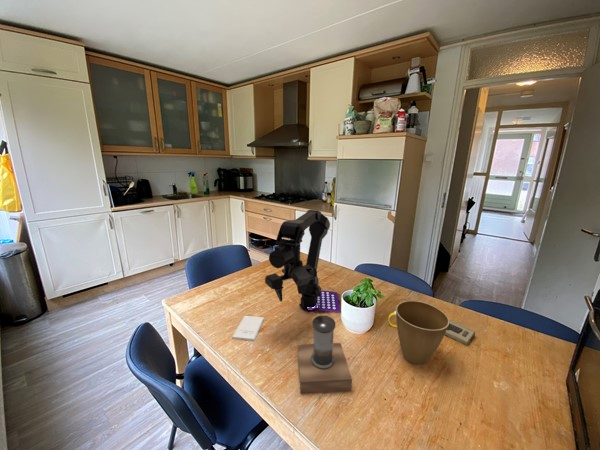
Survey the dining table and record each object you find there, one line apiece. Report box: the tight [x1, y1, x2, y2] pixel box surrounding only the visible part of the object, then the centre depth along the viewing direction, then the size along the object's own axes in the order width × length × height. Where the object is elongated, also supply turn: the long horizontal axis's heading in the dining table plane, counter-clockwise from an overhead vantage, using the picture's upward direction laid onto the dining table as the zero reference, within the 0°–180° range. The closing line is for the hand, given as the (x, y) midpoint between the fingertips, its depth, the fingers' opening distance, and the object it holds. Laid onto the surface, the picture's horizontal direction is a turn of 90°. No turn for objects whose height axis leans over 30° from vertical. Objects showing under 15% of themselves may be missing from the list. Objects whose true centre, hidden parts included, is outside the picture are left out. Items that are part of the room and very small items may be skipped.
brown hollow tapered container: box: [395, 300, 450, 366], centre depth 80 cm, size 15×15×16 cm
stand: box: [297, 342, 353, 395], centre depth 76 cm, size 14×14×4 cm
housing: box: [311, 315, 336, 370], centre depth 74 cm, size 7×7×13 cm
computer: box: [444, 318, 476, 347], centre depth 95 cm, size 16×8×3 cm, turn 40°
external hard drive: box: [231, 315, 265, 342], centre depth 95 cm, size 2×8×12 cm
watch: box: [387, 310, 397, 328], centre depth 96 cm, size 6×3×6 cm, turn 69°
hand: (291, 297), depth 92 cm, fingers open, 9 cm apart
